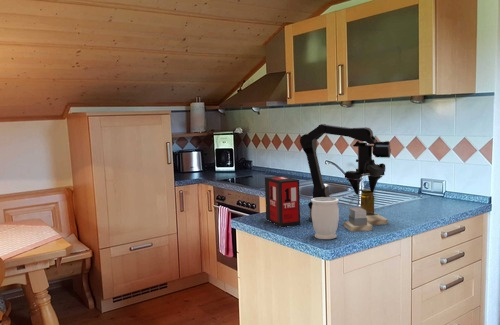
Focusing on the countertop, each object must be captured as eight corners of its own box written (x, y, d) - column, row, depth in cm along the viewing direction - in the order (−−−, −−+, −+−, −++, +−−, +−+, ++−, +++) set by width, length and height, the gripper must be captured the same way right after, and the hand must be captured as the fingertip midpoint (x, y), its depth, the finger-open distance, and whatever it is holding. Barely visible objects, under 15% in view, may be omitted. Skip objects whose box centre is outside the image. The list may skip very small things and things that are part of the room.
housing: (354, 226, 180) (354, 211, 179) (348, 221, 187) (348, 207, 186) (366, 225, 180) (366, 210, 180) (360, 221, 187) (360, 207, 187)
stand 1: (350, 231, 179) (350, 226, 179) (343, 226, 188) (343, 221, 188) (372, 230, 180) (372, 225, 180) (364, 224, 189) (364, 220, 189)
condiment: (358, 214, 210) (357, 189, 208) (375, 213, 210) (375, 188, 209) (363, 217, 202) (363, 191, 201) (381, 216, 203) (381, 190, 202)
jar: (309, 239, 170) (308, 201, 168) (315, 232, 179) (314, 196, 178) (336, 241, 166) (336, 202, 164) (341, 234, 176) (340, 197, 174)
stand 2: (367, 225, 188) (367, 220, 188) (359, 220, 197) (359, 216, 197) (387, 224, 189) (387, 219, 189) (379, 219, 198) (379, 214, 197)
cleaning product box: (300, 225, 192) (299, 179, 190) (281, 227, 189) (280, 181, 187) (283, 217, 207) (282, 175, 205) (266, 220, 204) (264, 177, 202)
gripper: (364, 160, 176) (363, 198, 177) (394, 156, 186) (394, 193, 187) (343, 158, 185) (343, 195, 187) (374, 155, 195) (374, 190, 197)
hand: (364, 193), depth 189 cm, fingers open, 9 cm apart
